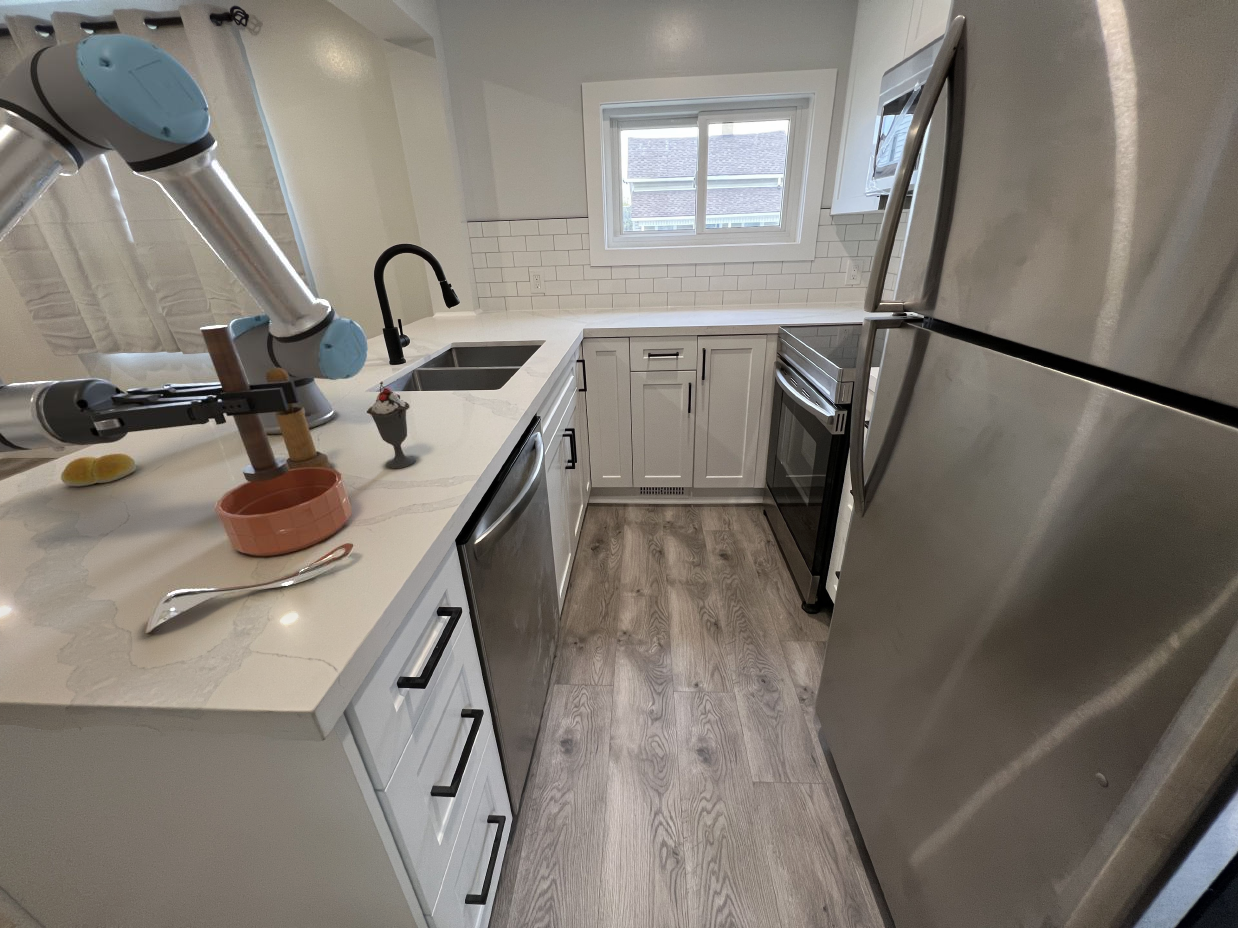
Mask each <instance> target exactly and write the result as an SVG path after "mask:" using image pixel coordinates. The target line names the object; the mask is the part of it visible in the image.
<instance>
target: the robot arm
mask: <svg viewBox="0 0 1238 928" xmlns="http://www.w3.org/2000/svg"><path fill="white" fill-rule="evenodd" d="M209 109H210V108H209V104H208V101H207V99H206V97H205V94H204V93H203V91H202V89H201V87H200V86H199V84H198V82H197V81H196V80H195V79H194V77H193V76H192V75H191V74H190V72H189V71H188V70H187V69H186V68H185V67H184V66H183V65H182V63H180V62H179V61H178V60H177V59H176V58H175V57H173V56H172V55H171V54H169V53H168V52H167V51H165V50H164V49H163V48H161V47H159V46H157V45H154V44H153V43H151V42H149V41H147V40H146V39H144V38H141V37H138V36H135V35H132V34H127V33H112V34H105V33H99V34H91V35H90V36H87V37H84V38H81V39H77V40H73V41H70V42H66V43H61V44H57V45H51V46H46V47H42V48H39V49H37V50H34V51H33V52H31V53H30V54H28V55H26V57H23V58H22V60H20V62H19V63H17V65H15V67H14V68H13V69H12V70H11V71H10V72H9V73H8V74H7V75H6V76H5V77H4V78H3V79H2V81H0V243H1V242H2V241H3V239H4V238H6V236H7V235H8V234H9V233H10V232H11V231H12V229H14V227H15V226H16V225H17V224H18V222H20V220H21V219H22V218H24V216H25V215H26V214H27V213H28V212H29V210H30V209H31V208H32V207H33V206H34V205H35V203H37V201H38V200H39V199H41V197H42V195H44V194H45V192H46V191H47V190H48V189H49V188H50V186H51V185H52V184H53V183H54V182H55V181H56V180H57V178H59V176H60V175H61V176H70V177H71V176H74V175H76V174H77V173H78V172H79V170H81V168H83V166H84V165H85V164H86V163H88V162H90V161H91V160H92V159H94V158H96V157H98V156H101V155H105V154H107V153H110V152H114V151H115V152H116V153H117V154H118V156H119V157H120V158H121V159H122V160H123V161H124V162H125V164H126V165H127V166H128V167H129V168H130V170H132V172H133V173H134V174H135V175H137V176H139V177H143V178H146V179H149V180H152V181H154V182H156V183H157V184H158V185H159V186H160V188H161V189H162V190H163V192H164V193H165V194H166V195H167V196H168V197H169V198H170V200H171V201H172V203H174V205H175V206H176V207H177V208H178V210H179V211H180V212H181V213H182V214H183V216H184V217H185V218H186V219H187V221H188V222H189V223H190V225H192V226H193V227H194V229H195V230H196V232H198V234H199V236H201V238H202V239H203V240H204V241H205V242H206V243H207V244H208V246H209V247H210V248H211V250H212V251H213V252H214V253H215V254H216V255H217V257H218V258H219V260H221V262H222V263H223V264H224V266H226V267H227V269H228V270H229V272H231V273H232V276H234V277H235V279H236V280H237V281H238V282H239V284H240V285H241V286H242V287H243V288H244V289H245V290H246V291H247V293H248V294H249V296H250V297H251V298H252V300H254V301H255V303H256V304H257V305H258V306H259V308H260V309H261V310H262V312H264V314H263V313H262V314H258V315H252V316H247V317H241V318H236V319H234V320H232V321H231V322H230V323H229V331H230V334H231V336H232V339H233V342H234V345H235V348H236V350H237V353H238V356H239V359H240V362H241V364H242V367H243V370H244V373H245V376H246V378H247V381H248V384H249V387H250V390H246V391H233V392H224V391H223V389H222V386H221V384H220V381H219V382H217V381H216V382H215V381H214V382H199V383H197V382H196V383H165V384H162V385H161V387H154V388H148V387H135V388H129V389H127V390H126V392H124V391H123V390H122V389H121V388H119V387H117V386H116V385H115V384H114V383H112V382H110V381H108V380H105V379H102V378H95V377H94V378H81V379H69V380H49V381H48V380H47V381H46V380H45V381H35V382H34V381H33V382H21V383H20V382H19V383H11V384H4V382H3V380H2V379H1V377H0V453H9V452H10V453H11V452H19V451H31V450H40V449H46V448H47V449H50V448H52V449H53V451H54V452H63V451H64V450H65V449H66V447H73V446H89V445H100V444H111V443H115V442H119V441H121V440H122V439H124V438H125V437H126V436H127V435H128V433H135V432H141V431H142V432H143V431H151V430H160V429H161V430H162V429H170V428H179V427H187V426H196V425H206V424H208V423H209V422H210V420H213V419H214V422H215V424H216V425H217V426H218V425H223V424H226V423H227V420H226V418H225V414H226V417H233V416H235V415H247V414H258V413H259V415H260V418H261V420H262V423H263V426H264V429H265V432H266V434H267V435H279V434H281V435H282V433H281V430H280V427H279V424H278V421H277V418H276V415H275V412H281V411H287V410H289V407H288V404H292V403H293V407H301V408H303V411H304V415H305V418H306V421H307V424H308V427H309V429H312V428H315V427H318V426H321V425H324V424H326V423H328V422H329V421H331V420H332V419H334V417H335V412H334V408H333V406H332V404H331V403H330V401H329V400H328V399H327V397H326V396H325V394H324V393H323V391H322V390H321V389H320V387H319V386H318V385H317V383H316V379H318V380H319V379H321V380H329V381H338V380H346V379H347V380H348V379H352V378H354V377H355V376H356V375H358V374H359V373H360V372H361V370H362V369H363V368H364V366H365V364H366V361H367V357H368V348H369V347H368V340H367V336H366V334H365V332H364V330H363V328H362V327H361V326H360V324H359V323H357V322H356V321H354V320H352V319H349V318H346V317H343V318H342V317H340V316H339V315H338V313H337V312H336V310H335V309H334V307H333V306H332V305H331V304H330V302H329V301H328V300H327V299H324V298H320V297H316V296H315V295H314V294H313V292H312V291H311V290H310V288H309V287H308V286H307V284H306V283H305V282H304V280H303V279H302V277H301V276H300V274H299V273H298V271H297V270H296V269H295V267H294V266H293V265H292V263H291V261H289V259H288V258H287V256H286V255H285V254H284V252H283V251H282V249H281V248H280V246H279V244H278V243H277V242H276V241H275V240H274V238H273V237H272V236H271V234H270V232H269V231H268V230H267V228H266V227H265V226H264V225H263V222H262V221H261V220H260V218H259V217H258V215H257V214H256V213H255V211H254V210H253V209H252V207H251V206H250V205H249V203H248V202H247V201H246V199H245V198H244V196H243V194H241V192H240V191H239V190H238V188H237V186H236V185H235V184H234V182H233V181H232V179H231V178H230V177H229V175H228V174H227V173H226V171H225V170H224V168H223V167H222V166H221V164H220V163H219V162H218V160H217V157H216V156H217V155H216V154H217V147H218V142H217V140H216V139H215V137H214V136H213V135H212V133H211V132H210V131H209V128H210V125H211V116H210V115H209V114H208V110H209ZM272 368H282V369H284V370H285V371H286V372H287V373H288V375H289V381H282V382H269V383H268V382H267V380H266V373H267V371H268V370H270V369H272Z"/></svg>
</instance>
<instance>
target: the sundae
mask: <svg viewBox="0 0 1238 928" xmlns="http://www.w3.org/2000/svg"><path fill="white" fill-rule="evenodd" d="M383 384H384V382H383V381H381V382H380V383H379V385H380V387H379V393H378V394H377V396H376V398H375V402H374V404H373V405H371V406H370V407H369V408H368V409H367V410H366V412H365V413H366V414H369V415H370V416H371V417H372V420H373V422H374V424H375V427H376V428H377V430H378V431H377V432H378V433H379V435H380V438H381V439H382V441H384V442H385V443H386V444H388V445H391V446H392V447H393V450H394V457H393V458H392V459H390V460H388V461H387V462H386V463H385V466H386V467H387V468H388V469H397V470H398V469H404V468H407V467H409V466H412V465H413V464H415V463H416V461H417V459H416V457H414V456H411V455H405V454H404V452H403V449H402V444H403V442H404V441H406V439H407V437H408V422H407V411H408V410H409V409H410V408H411V407H410V404H409V403H408V402H406V401H404V400H402V399H401V395H399V394H397V393H396V392H395V391H392V390H391V389H390V388H388V387H387V388H385V386H383ZM382 388H383V390H382Z"/></svg>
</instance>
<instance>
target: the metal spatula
mask: <svg viewBox="0 0 1238 928" xmlns="http://www.w3.org/2000/svg"><path fill="white" fill-rule="evenodd" d="M354 550H355V545H354V544H353V543H351V542H350V543H349V542H347V543H343V544H341V545H339V546H337V547H335V548H334V549H332V550H331V551H329V552H327V553H326V554H324V555H323V556H321V557H320V558H318V559H316V560H315V561H313V562H312V563H310V564H309V565H307V566H305V567H303V568H302V569H300V570H298V571H296V572H294V573H291V574H289V575H287V576H285V577H281V578H279V579H275V580H271V581H268V582H267V581H266V582H263V583H256V584H250V585H249V584H247V585H240V586H229V587H190V588H187V587H186V588H179V589H176V590H172V591H169V592H168V593H166V594H164V595H163V596H162V597H160V599H159V600H157V602H156V603H155V605H154V606H153V608H152V609H151V612H150V614H149V617H148V620H147V624H146V629H145V633H146V634H149V633H151V632H152V631H153V630H154V629H155V628H157V627H159V626H160V625H162V624H164V623H165V622H167V621H169V620H170V619H173V618H175V617H176V616H178V615H180V614H182V613H185V612H186V611H188V610H190V609H192V608H195V607H196V606H198V605H200V604H202V603H204V602H207V601H208V600H211V599H214V598H217V597H220V596H223V595H229V594H233V593H240V592H241V593H242V592H247V591H249V592H250V591H258V590H259V591H260V590H268V589H275V588H277V589H278V588H283V587H288V586H292V585H296V584H300V583H302V582H305V581H307V580H308V581H309V580H311V579H313V578H315V577H317V576H319V575H321V574H324V573H326V572H328V571H330V570H331V569H332V568H334V567H336V566H338V565H340V564H341V563H342V562H344V561H345V560H346V559H347V558H348V557H350V556H351V554H352V553H353V551H354ZM340 551H343V553H342V554H341V555H339V556H336V557H334V556H335V555H336V554H337V553H338V552H340Z"/></svg>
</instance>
